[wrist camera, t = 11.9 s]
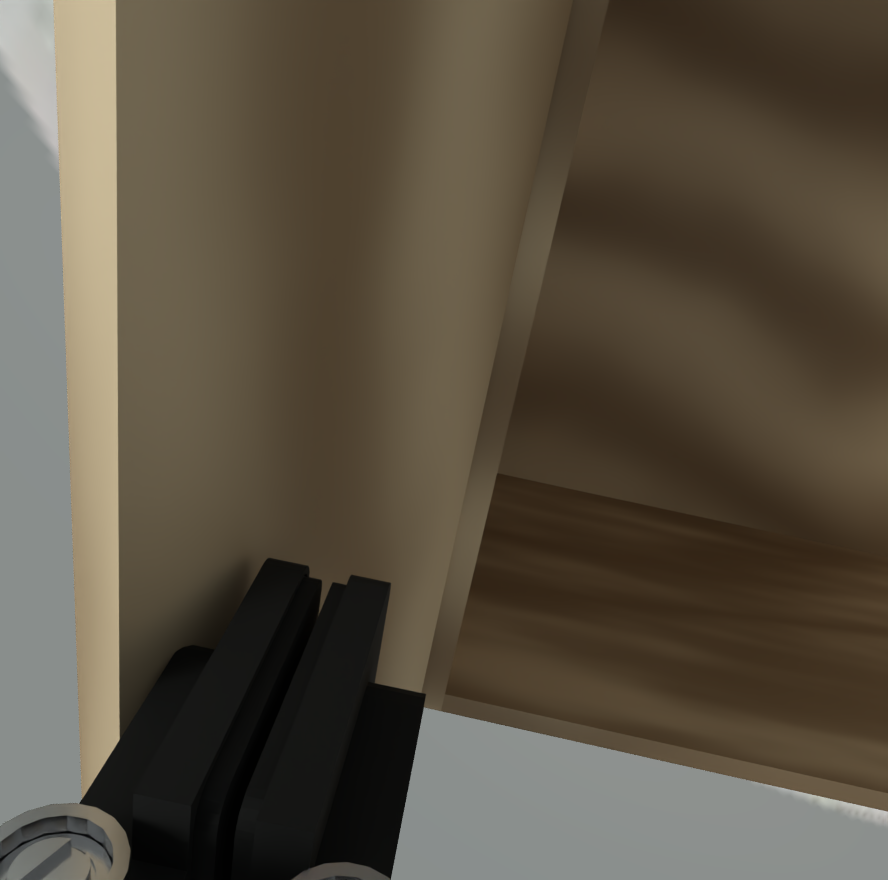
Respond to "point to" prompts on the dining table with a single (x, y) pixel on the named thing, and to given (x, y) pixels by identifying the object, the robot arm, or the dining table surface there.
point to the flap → (280, 304)
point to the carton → (692, 406)
